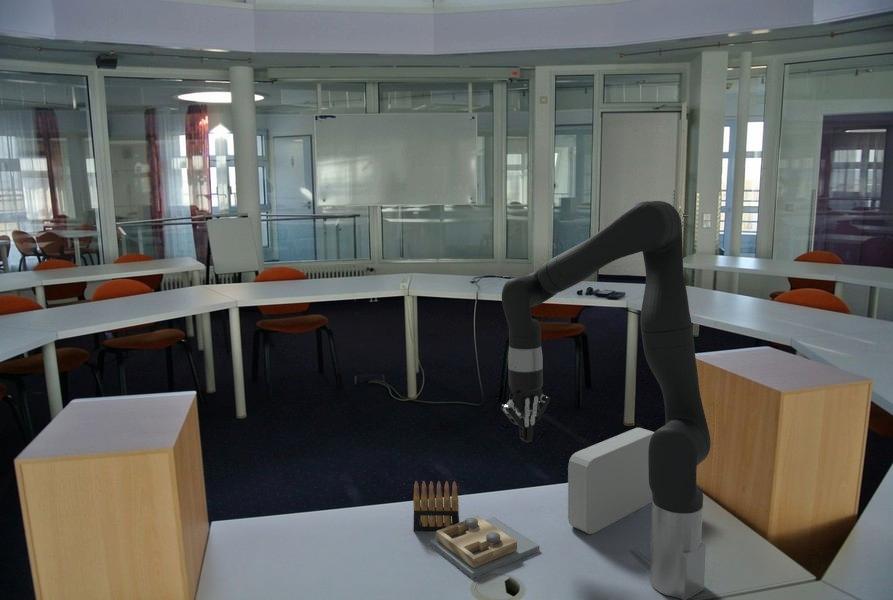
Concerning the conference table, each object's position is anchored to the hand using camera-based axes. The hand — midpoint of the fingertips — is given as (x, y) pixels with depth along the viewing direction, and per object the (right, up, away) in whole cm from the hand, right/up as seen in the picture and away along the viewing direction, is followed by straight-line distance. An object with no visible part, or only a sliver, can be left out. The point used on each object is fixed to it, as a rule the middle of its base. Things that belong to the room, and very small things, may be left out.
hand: (526, 440), depth 149 cm
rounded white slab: (+23, -20, +11) cm, 32 cm away
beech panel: (-12, -22, -5) cm, 25 cm away
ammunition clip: (-20, -22, +5) cm, 30 cm away
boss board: (-10, -23, -3) cm, 25 cm away
